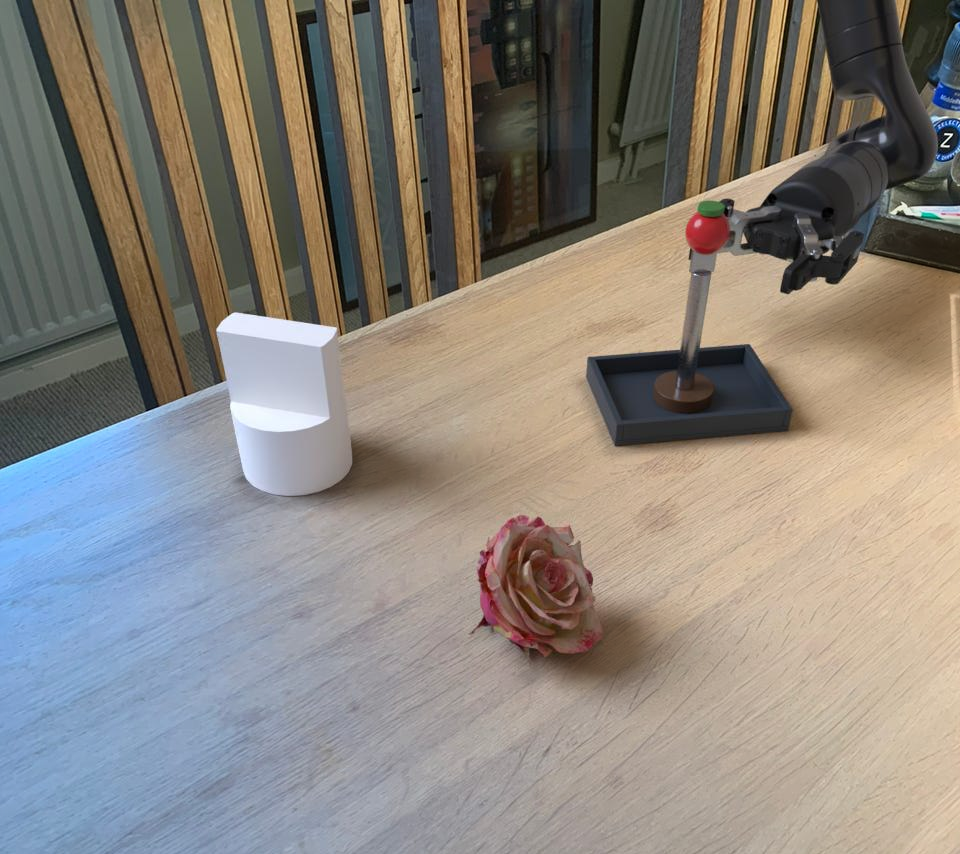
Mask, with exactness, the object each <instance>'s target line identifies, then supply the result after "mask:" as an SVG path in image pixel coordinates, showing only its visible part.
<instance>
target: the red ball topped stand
mask: <svg viewBox="0 0 960 854" xmlns="http://www.w3.org/2000/svg"><path fill="white" fill-rule="evenodd" d="M724 208H725V206H724V204H722V203H720V202H719V201H717V200H703V201H701V202H699V203H698V205H697V212H695V213H694V214H693V215H692V216H691V217H690V218H689V220H688V222H687V224H686V226H685V233H684V234H685V241H686V244H687V245H688V247H689V249H690V248H691V249H692V254H691V260H689V269H688V272H689V273H690V279H689V285H688V292H687V298H686V306H685V313H684V320H683V328H682V334H681V340H680V341H681V342H680V348H679V350H680V354H679V361H678V368H677V371H671V372H667V373H664V374H662V375H660V376H659V377H658V378H657V379H656V380H655V383H654V390H653V398H654V400H655V402H656V403H657V404H658V405H659V406H661V407H662V408H664V409H666V410H669V411H672V412H677V413H696V412H700V411H702V410H705V409H706V408H708V407H709V406H710V405H711V403H712V399H713V394H714V385H713V383H712V382H711V381H710V380H709V379H708V378H707V377H705V376H703V375H701V374H698V373H696V368H697V361H698V355H699V349H700V348H701V342H702V335H703V329H704V323H705V317H706V311H707V305H708V297H709V292H710V286H711V285H710V284H711V279H712V272H715V269H716V262H717V257H718V253H717V252H718V251H719V250H721V249H722V248H723V247H724V245H725V244H726V242H727V241H728V238H729V234H730V225H729V222H728V220H727V218H726V216H725V215H724V214H723V213H724Z"/></svg>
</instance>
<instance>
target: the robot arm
mask: <svg viewBox="0 0 960 854" xmlns="http://www.w3.org/2000/svg"><path fill="white" fill-rule="evenodd" d="M816 4H817V8H818V13H819V17H820V23H821V24H820V25H821V29H822V35H823V41H824V47H825V53H826V59H827V64H828V69H829V74H830V81H831V86H832V90H833V93H834V95H835V97H837V98H838V99H839V100H840V101H846V102H847V101H848V102H849V101H857V100H862V99H867V98H875V99H877V100H878V102H879V103H880V104H881V106H883V108H884V111H885V114H884V115H880V116H879V117H878V116H877V117H876V118H874V119H871V120H868V121H866V122H863V123H860V124H858V125H855V126H853V127H850V128H847V129H846V130H844V131H842V132H840V133H838V134H837V135H836V136H835V137H833V138H832V139H831V140H830V142H829V143H828V145H827V147H826V150H825V152H824V153H823V155H821V156H820V157H819V158H816V159H814V160H812V161H810V162H808V163H806V164H805V165H804V166H802V167H800V168H799V169H798V170H796V172H794V173H793V174H791V175H790V176H788V177H787V178H786V179H785V180H784V181H782V182H781V183H779V184H778V185H777V186H775V187H774V188H773V189H772V190H771V191H770V192H769V193H768V195H767V196H766V197H765V199H764V200H763V202H762V203H761V204H760V205H759V206H757V207H753V208H750V209H748V210H746V211H741V210H740V209H739V210H738V209H735V200H734V199H732V198H728V197H727V198H723V199H721V200H718V202H720V203H722V204H724V206H725V208H724V213H723V214H724V215H725V216H726V218H727V220H728V222H729V225H730V234H729V238H728V241H727V242H726V244H725V245H724V247H723V248H722V249H721V250H719V251H718V252H717V254H723V253H724V254H725V253H730V254H732V256H734V257H739V256H746V255H753V254H759V255H761V256H765V255H768V256H771V257H774V258H776V259H780V260H783V261H787V262H788V263H790V264H788V265H787V266H786V267H785V269H784V271H783V274H782V278H781V284H780V289H779V293H781V294H785V295H787V296H788V295H790V294H791V293H792V292H794V291H795V292H797V291H800V290H802V289H803V288H804V287H805V286H806V285H807V284H809V283H812V282H816V281H817V280H818V278H823V279H824V282H825V283H826V284H827V285H838V284H840V282H841V281H843V279H844V278H845V277H846V275H847V274H848V273H849V272H850V271H851V270H852V268H853V267H854V266H855V265H856V264H857V263H858V260H859V256H860V252H861V249H862V245H863V241H864V237H865V233H864V232H861V231H858V230H852V229H853V228H854V227H855V226H856V225H857V223H858V222H859V221H860V219H861V218H862V217H864V216H865V215H866V214H867V213H868V212H869V211H870V210H871V209H872V208H873V207H874V206H875V205H876V204H877V203H878V202H879V201H880V199H881V198H882V196H883V195H884V193H885V191H887V190H891V189H894V188H896V187H899V186H903V185H905V184H909V183H911V182H914V181H918V180H920V179H922V178H924V177H925V176H926V175H927V174H928V173H929V172H930V171H931V169H932V168H933V166H934V163H935V162H936V159H937V154H938V148H939V141H938V133H937V130H936V128H935V125H934V123H933V120H932V118H931V116H930V114H929V112H928V110H927V108H926V107H925V105H924V102H923V101H922V98H921V96H920V94H919V92H918V88H917V87H916V84H915V81H914V79H913V77H912V75H911V72H910V69H909V66H908V64H907V61H906V57H905V53H904V46H903V39H902V33H901V26H900V21H899V20H900V19H899V14H898V8H897V3H896V0H816ZM851 230H852V231H851ZM743 236H744V238H745V241H746V242H744V243H742V239H743ZM830 250H831V253H830V255H825V254H827V253H828V252H829V251H830ZM691 254H692V249H691V248H690V247H689V251H688V259H687V260H688V261H691Z"/></svg>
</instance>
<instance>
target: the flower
mask: <svg viewBox="0 0 960 854" xmlns="http://www.w3.org/2000/svg"><path fill="white" fill-rule="evenodd" d="M574 539H575V536H574V532H573V530H572V527H571V524H569V525H567V526H550V525H548V524H545V522H544V519H543V518H542V517H540V516H536V517H534V518H532V519H531V520H530V517H529V516H528V515H525V514H518V515H517V516H516V517H512V518H509V519H508V520H507V521H506V522H505V524H504V525H503V526H501V527H500V529H499V531H498V532H497V533H496V534H495V535H494V536H493V537H491V538H490V537H489V536H488V537H487V540H486V544H485V546H486V550H485V549H482V550H480V552H479V555H480V557H479V559H478V561H477V563H478V565H477V566H476V573H477V577H478V579H477V582H479V592H480V593H479V594H480V595H479V604H480V609H481V612H482V614H483V615H482V617H481V620H480V622H479V623H478V624H477V626H476V627H475V628H474V629H472V631H470V633H469V634H468V636H470V635H471V636H472V635H474V634H475V632H476V631H477V630H478V629H479V628H482V627H484V628H486V627H489V626H491V628H490V630H489V632H488V636H490V635H491V634H493V633H495V631H496V632H497V633H498V634H499V635H501V636H502V637H503V638H504V639H506V640H509V642H510V643H511V644H513V645H515V646H516V647H517V648H518V649H519V650H520V651H521V652H522V653H524V655H525V657H526V658H527V660H528V664H529V668H531V666H532V664H531V660H530V649H535V650H537V651H538V652H539V653H540V654H542V656H544V658H547V657H549V655H550V654H551V653H552V652H553V649H552V648H554V649H555V650H556V652H558V653H561V654H578V653H585V652H588V651H589V650H591V648H592V646H593V644H596V643H598V641H599V640H601V638H602V637H603V634H604V631H603V628H602V625H601V622H600V620H599V616H598V614H597V611H596V609H595V605H594V603H595V601H596V596H595V593H594V592H593V589H592V588H593V587H592V586H593V584H594V576H593V574H592V572H591V570H589V569H587V567H585V565H584V560H583V553H582V544H581V543H582V542H581V540H580V539H578V540H577V542H576V543H575V544H572V543H573V542H574ZM494 630H495V631H494ZM544 643H545V644H548V645H550V646H551V647H552V648H550V647H549V646H547V645H545V644H544Z"/></svg>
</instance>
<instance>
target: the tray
mask: <svg viewBox="0 0 960 854" xmlns="http://www.w3.org/2000/svg"><path fill="white" fill-rule="evenodd" d="M679 354H680V349H671V350H669V349H668V350H658V351H656V350H655V351H646V352H644V351H643V352H632V353H631V352H630V353H621V354H619V353H618V354H608V355H607V354H606V355H597V356H596V355H595V356H587V360H586V372H585V378H586V381H587V383H588V386H589V387H590V390H591V392H592V395H593V397H594V400H595V402H596V404H597V408H598V409H599V412H600V414H601V416H602V419H603V421H604V424H605V426H606V429H607V431H608V434H609V436H610V438H611V441H612V442H613V446H614V447H618V446H620V447H621V446H631V445H642V444H653V443H664V442H675V441H688V440H696V439H697V440H698V439H707V438H708V439H710V438H719V437H730V436H731V437H733V436H742V435H754V434H764V433H776V432H787V431H789V428H790V423H791V420H792V415H793V411H794V410H793V408H792V405H790V403H789V401H788V399H786V397H785V395H784V393H783V392H782V391H781V389H780V388H779V386H778V384H777V383H776V382H775V380H774V379H773V377H772V376H771V374H770V372H769V371H768V370H767V368H766V367H765V365H764V364H763V362H762V360H761V359H760V358H759V356H758V354H757V352H755V350H754V348H753V346H751V344H750V343H744V344H732V345H731V344H730V345H718V346H708V347H705V346H704V347H700V349H699V355H698V361H697V368H696V373H698V374H701V375H703V376H705V377H707V378H708V379H709V380H710V381H711V382H712V383H713V385H714V394H713V399H712V403H711V405H710V406H709V407H708V408H706V409H705V410H702V411H700V412H696V413H677V412H672V411H669V410H666V409H664V408H662V407H661V406H659V405H658V404H657V403H656V402H655V400H654V398H653V390H654V383H655V380H656V379H657V378H658V377H659V376H660V375H662V374H664V373H667V372H671V371H677V368H678V361H679Z"/></svg>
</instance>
